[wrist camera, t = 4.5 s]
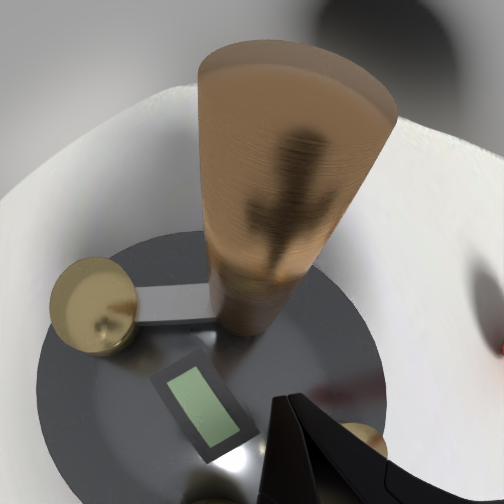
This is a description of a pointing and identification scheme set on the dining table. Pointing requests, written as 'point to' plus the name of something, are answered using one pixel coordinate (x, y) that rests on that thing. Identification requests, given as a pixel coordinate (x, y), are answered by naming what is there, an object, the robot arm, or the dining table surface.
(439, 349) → the dining table surface
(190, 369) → the tribrach plate
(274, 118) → the knob lever
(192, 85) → the dining table surface
